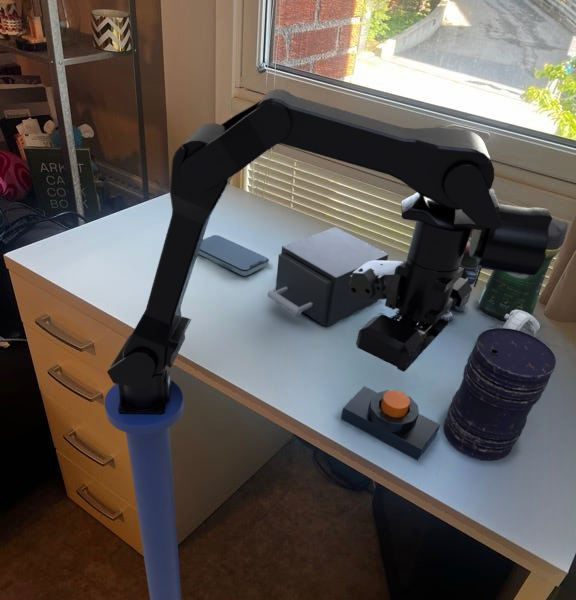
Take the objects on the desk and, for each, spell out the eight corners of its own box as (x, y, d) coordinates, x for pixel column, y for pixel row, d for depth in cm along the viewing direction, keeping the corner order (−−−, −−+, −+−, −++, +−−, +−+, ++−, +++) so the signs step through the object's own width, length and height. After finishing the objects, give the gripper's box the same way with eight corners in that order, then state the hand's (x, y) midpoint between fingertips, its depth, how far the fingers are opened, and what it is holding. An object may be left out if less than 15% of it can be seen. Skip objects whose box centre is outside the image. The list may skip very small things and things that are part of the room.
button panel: (339, 419, 78) (344, 398, 75) (362, 396, 82) (367, 375, 79) (417, 462, 73) (424, 441, 70) (437, 434, 77) (444, 414, 74)
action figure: (437, 341, 94) (470, 243, 82) (404, 324, 97) (431, 227, 85) (488, 299, 106) (523, 209, 94) (457, 285, 109) (488, 196, 97)
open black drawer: (304, 332, 91) (309, 291, 86) (257, 301, 97) (260, 261, 92) (368, 299, 100) (376, 261, 95) (322, 273, 106) (328, 235, 101)
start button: (375, 409, 74) (378, 400, 73) (388, 395, 77) (390, 386, 76) (399, 422, 73) (402, 412, 72) (411, 407, 75) (414, 398, 74)
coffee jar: (535, 312, 104) (578, 218, 92) (522, 330, 99) (566, 233, 87) (486, 292, 108) (521, 200, 96) (471, 309, 103) (506, 214, 91)
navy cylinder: (494, 409, 82) (533, 326, 72) (526, 459, 75) (573, 375, 65) (432, 412, 80) (462, 328, 71) (458, 464, 73) (496, 378, 63)
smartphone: (216, 233, 114) (271, 258, 107) (216, 240, 115) (270, 266, 108) (188, 244, 109) (244, 271, 102) (188, 252, 110) (244, 279, 103)
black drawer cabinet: (327, 327, 94) (336, 277, 88) (277, 294, 101) (281, 246, 94) (377, 301, 102) (388, 254, 96) (328, 272, 108) (335, 226, 102)
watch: (523, 370, 90) (550, 313, 83) (501, 391, 85) (527, 333, 78) (492, 353, 93) (516, 297, 86) (469, 373, 88) (492, 316, 81)
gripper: (406, 210, 69) (381, 314, 80) (325, 262, 57) (308, 377, 68) (490, 240, 65) (453, 346, 75) (422, 304, 53) (388, 419, 63)
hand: (401, 369), depth 71 cm, fingers closed
